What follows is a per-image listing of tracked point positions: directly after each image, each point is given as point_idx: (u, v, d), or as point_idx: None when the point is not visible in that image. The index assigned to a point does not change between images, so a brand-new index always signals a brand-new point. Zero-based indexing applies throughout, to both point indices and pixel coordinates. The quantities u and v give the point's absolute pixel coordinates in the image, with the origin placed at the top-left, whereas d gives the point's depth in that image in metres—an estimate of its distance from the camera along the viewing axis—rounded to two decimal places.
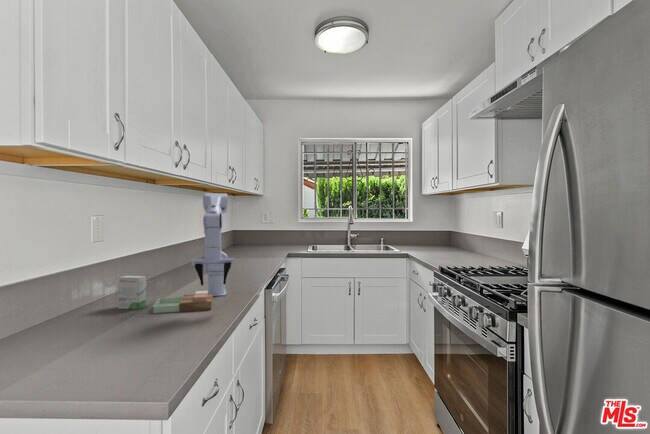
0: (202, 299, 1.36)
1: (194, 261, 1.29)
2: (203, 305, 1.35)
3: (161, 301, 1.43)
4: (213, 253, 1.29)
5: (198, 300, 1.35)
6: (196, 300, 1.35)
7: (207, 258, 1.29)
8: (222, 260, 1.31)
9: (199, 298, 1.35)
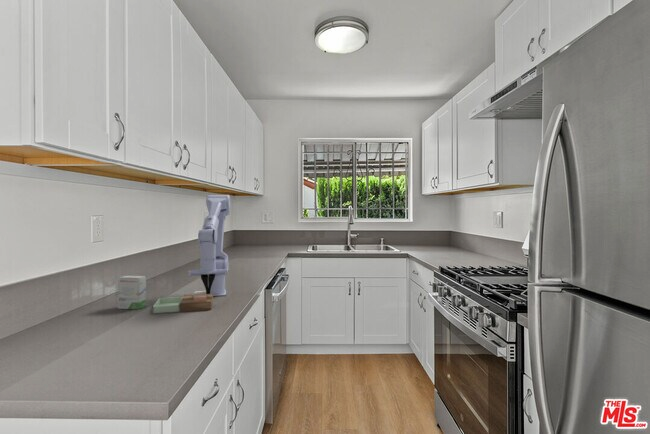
0: (202, 299, 1.36)
1: (190, 272, 1.41)
2: (203, 305, 1.35)
3: (161, 301, 1.43)
4: (207, 265, 1.41)
5: (198, 300, 1.35)
6: (196, 300, 1.35)
7: (202, 270, 1.41)
8: (216, 271, 1.43)
9: (199, 298, 1.35)
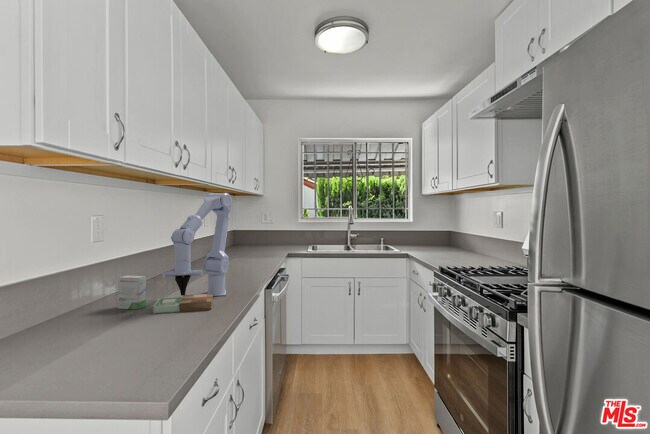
0: (202, 299, 1.36)
1: (164, 273, 1.39)
2: (203, 305, 1.35)
3: (161, 301, 1.43)
4: (182, 266, 1.39)
5: (198, 300, 1.35)
6: (196, 300, 1.35)
7: (177, 271, 1.39)
8: (191, 272, 1.40)
9: (199, 298, 1.35)
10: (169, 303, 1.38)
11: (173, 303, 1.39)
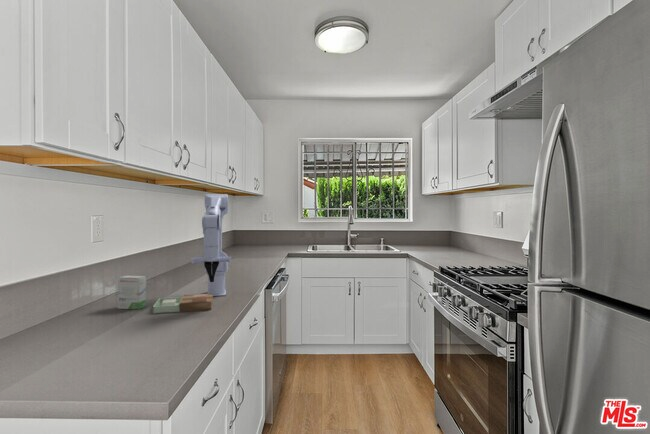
0: (202, 299, 1.36)
1: (193, 259, 1.37)
2: (203, 305, 1.35)
3: (161, 301, 1.43)
4: (211, 252, 1.37)
5: (198, 300, 1.35)
6: (196, 300, 1.35)
7: (206, 257, 1.37)
8: (220, 259, 1.39)
9: (199, 298, 1.35)
10: (169, 303, 1.38)
11: (173, 303, 1.39)
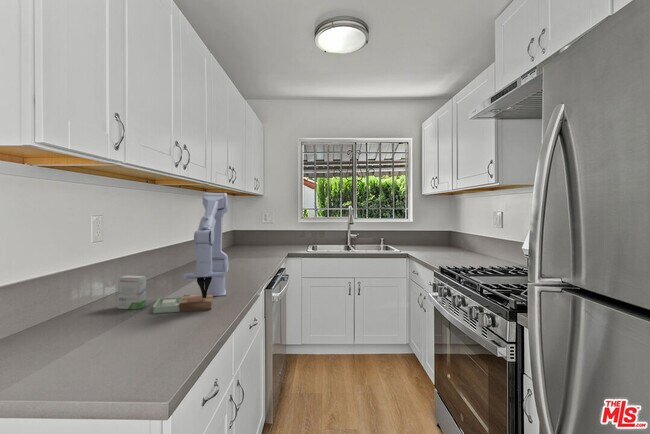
0: (198, 299, 1.35)
1: (186, 275, 1.35)
2: (203, 305, 1.35)
3: (161, 301, 1.43)
4: (204, 268, 1.35)
5: (194, 301, 1.35)
6: (192, 300, 1.35)
7: (198, 272, 1.35)
8: (213, 274, 1.37)
9: (195, 298, 1.35)
10: (169, 303, 1.38)
11: (173, 303, 1.39)
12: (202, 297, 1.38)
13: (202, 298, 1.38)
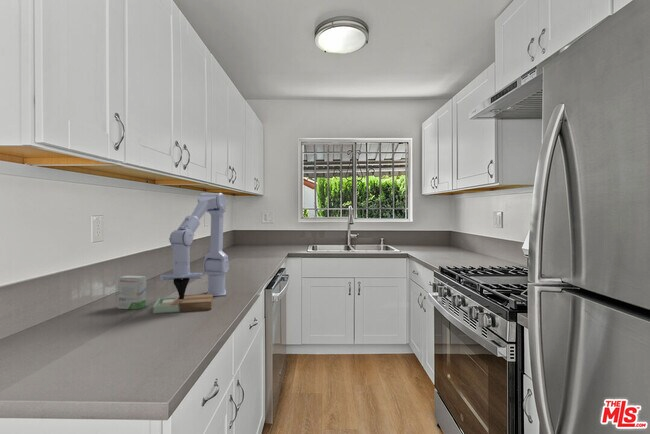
0: (176, 303, 1.33)
1: (162, 276, 1.33)
2: (203, 305, 1.35)
3: (161, 301, 1.43)
4: (180, 269, 1.33)
5: None
6: None
7: (175, 273, 1.33)
8: (190, 275, 1.35)
9: (173, 304, 1.33)
10: (169, 303, 1.38)
11: None
12: (179, 298, 1.36)
13: (180, 299, 1.36)
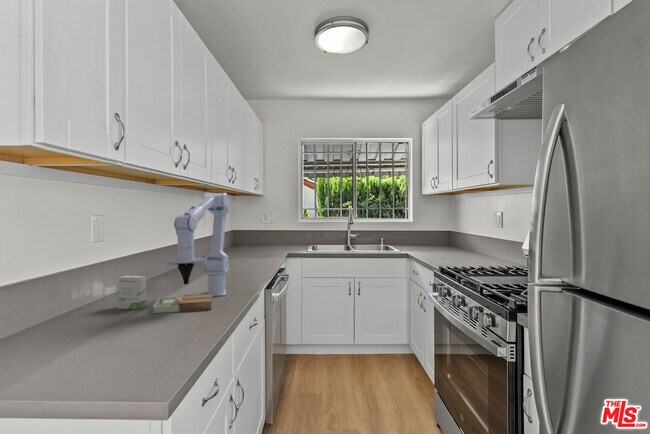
0: (176, 303, 1.33)
1: (167, 261, 1.33)
2: (203, 305, 1.35)
3: (161, 301, 1.43)
4: (185, 254, 1.33)
5: None
6: None
7: (179, 258, 1.33)
8: (194, 260, 1.35)
9: (173, 304, 1.33)
10: (169, 303, 1.38)
11: None
12: (180, 298, 1.36)
13: (180, 299, 1.36)
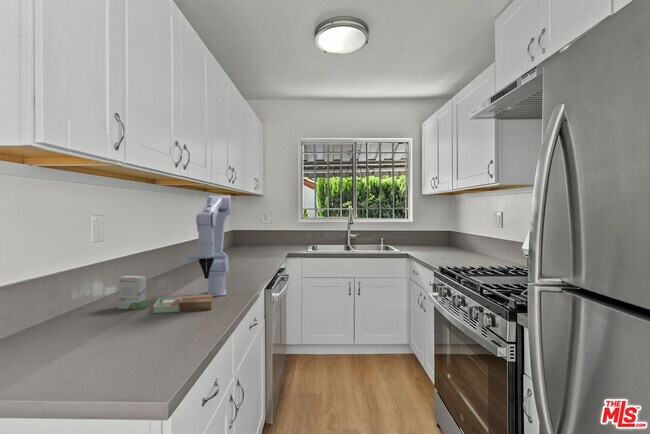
0: (176, 303, 1.33)
1: (188, 256, 1.39)
2: (203, 305, 1.35)
3: (161, 301, 1.43)
4: (206, 249, 1.39)
5: None
6: None
7: (200, 254, 1.39)
8: (214, 255, 1.40)
9: (173, 304, 1.33)
10: (169, 303, 1.38)
11: None
12: (180, 298, 1.36)
13: (180, 299, 1.36)
